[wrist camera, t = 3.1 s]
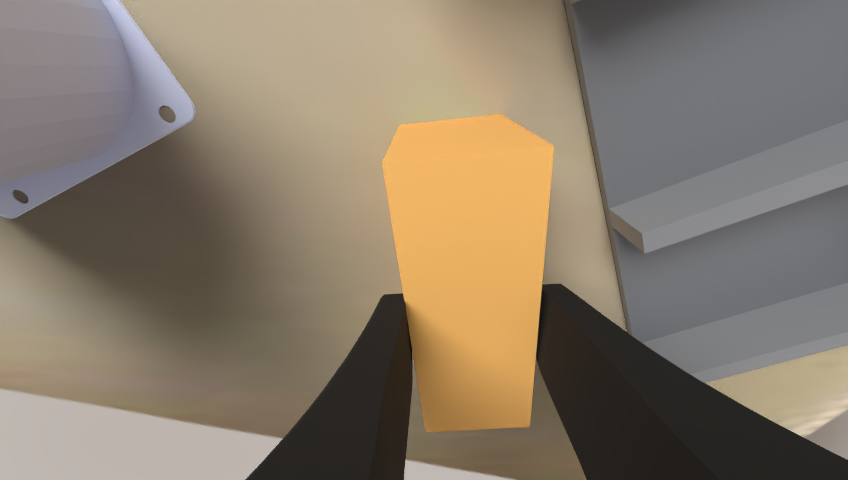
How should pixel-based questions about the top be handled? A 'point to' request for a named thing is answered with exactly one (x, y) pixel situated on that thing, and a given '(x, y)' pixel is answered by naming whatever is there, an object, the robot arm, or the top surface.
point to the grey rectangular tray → (722, 172)
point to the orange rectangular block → (471, 264)
